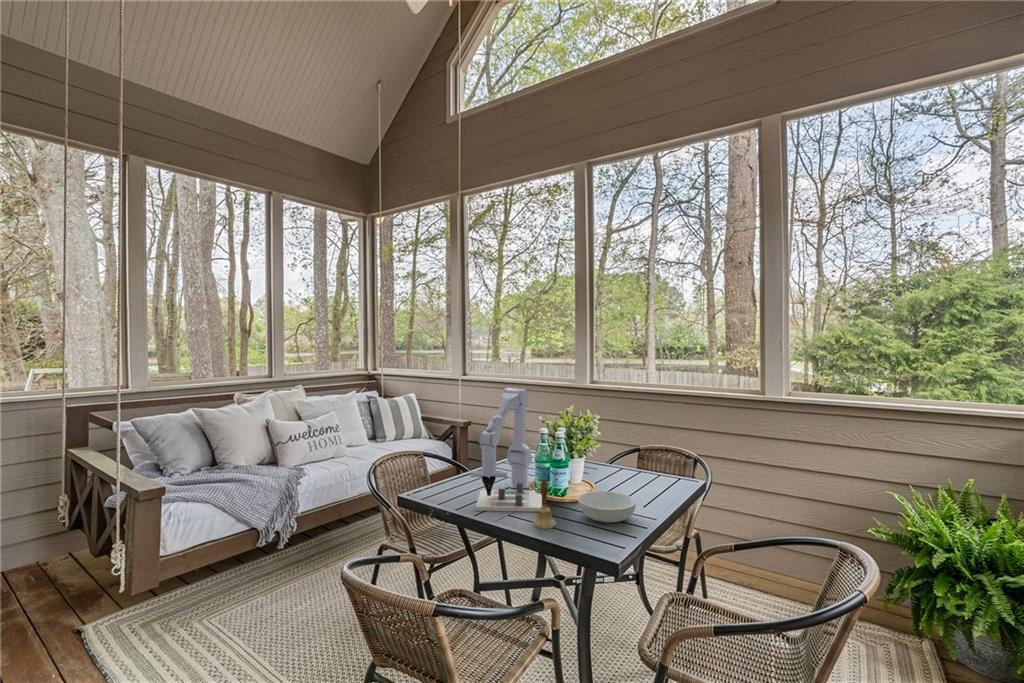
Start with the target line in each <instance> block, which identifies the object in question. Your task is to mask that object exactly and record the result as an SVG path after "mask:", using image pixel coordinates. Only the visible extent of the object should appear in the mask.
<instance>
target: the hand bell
mask: <svg viewBox="0 0 1024 683" xmlns="http://www.w3.org/2000/svg"><path fill="white" fill-rule="evenodd" d="M539 486H540V488H539V489H540V490H539V491H541V495H542V507H541V508H539V509H538V512H537V513H536V514H537V515H536V518H535V519H534V520H533V522H532V525H533V527H535V528H537V529H544V530H545V529H546V530H547V529H553V528H554V527H556V525H557V523H556V521H555V520H554V519H553V517H552V512H551V508H549V507H548V506H547V495H548V487H549V486H548V483H547V479H546V478H542V479H541V483H540V485H539Z"/></svg>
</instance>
